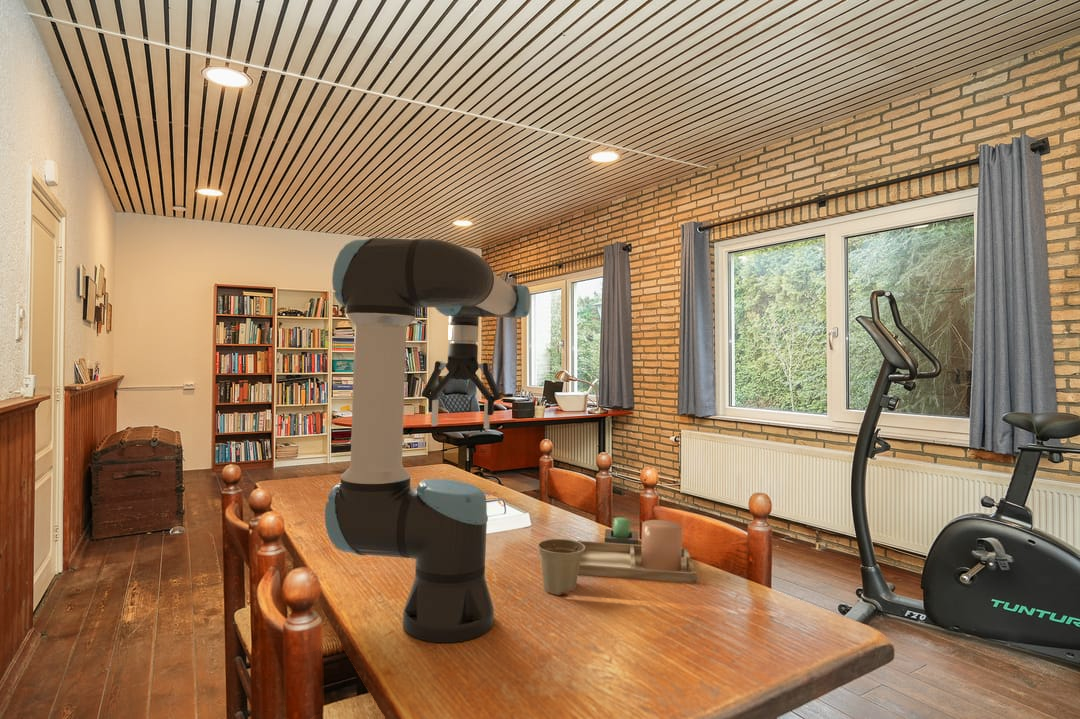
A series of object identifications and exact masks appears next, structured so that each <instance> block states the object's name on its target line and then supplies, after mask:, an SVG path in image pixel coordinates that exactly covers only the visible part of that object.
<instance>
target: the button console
mask: <svg viewBox="0 0 1080 719" xmlns="http://www.w3.org/2000/svg"><path fill="white" fill-rule="evenodd" d="M639 540H640V539H639V533H638V531H637V530H630V538H623V537H613V528H612V529H610V528H605V530H604V542H606V543H620V544H635V545H639V542H640V541H639Z"/></svg>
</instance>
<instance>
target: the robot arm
mask: <svg viewBox="0 0 1080 719" xmlns="http://www.w3.org/2000/svg"><path fill="white" fill-rule="evenodd" d="M331 280H332V282H331V283H332V290H333V291H334V298H335V299H336V301H337V303H338V304H340V305H342V306H343V307H345V316H346V317H347V318H348V320H349V321H350V322H351V323H352V324H353V326H354V342H353V343H354V344H353V346H354V347H353V348H354V349H353V371H352V372H353V375H352V376H353V377H352V403H351V404H352V407H351V408H352V409H351V410H352V411H351V434H350V435H351V437H350V440H351V442H350V443H351V444H350V465H349V467H348V468H347V469H346V470H345V471H344V472H343V473H342V474H340V482H339V483H336V485H334V486H333V487H332V489H331V490H330V491H329V494H328V497H327V499H328V501H327V502H326V503H325V509H324V523H325V530H326V533H327V536H328V538H329V541H330V542H331V543H332V545H333V546H334V547H335V548H336V549H337V550H339V551H340V552H344V553H351V554H355V555H358V556H376V557H377V556H379V557H389V558H390V557H391V558H405V559H414V560H415V571H414V572H415V574H414V575H415V576H414V579H413V583H412V585H411V588H410V591H409V594H408V597H407V600H406V603H405V605H404V608H403V612H402V628H403V630H404V632H406V633H407V634H408V635H410V636H412V637H413V638H415V639H418V640H422V641H426V642H432V643H456V642H458V643H459V642H463V641H464V642H465V641H468V640H472V639H475V638H478V637H480V636H482V635H485V634H486V633H487V632H489V631H490V630H491V629H492V628H493V626H494V619H495V618H494V616H495V609H494V604H493V600H492V597H491V594H490V590H489V586H488V583H487V579H486V575H485V574H486V554H487V553H486V549H487V527H488V526H487V524H488V518H489V516H488V514H487V511H488V508H487V507H488V506H487V496H486V494H485V492H484V490H482V489H481V488H479V487H478V486H476V485H473V484H470V483H468V482H464V481H460V480H454V479H449V478H447V479H446V478H441V479H440V478H429V479H427V478H426V479H423V480H421V481H420V482H419V483H418V485H417V487H413V486H411V473H410V471H408V469H406V468H405V467H404V465H403V447H404V446H403V441H404V438H403V437H404V415H405V414H404V413H405V412H404V411H405V409H404V407H405V380H406V379H405V378H406V377H405V376H406V375H405V374H406V373H405V372H406V349H407V348H406V347H407V342H406V341H407V328H408V327H409V326H410V324H412V323H413V322H414V321H415V320H416V314H417V313H416V309H417V308H434V309H435V310H436V311H437V312H438V313H440V314H442V315H443V316H445V317H448V333H447V334H448V339H447V340H448V342H450V343H448V345H447V361H446V362H443V361H440V360H436V361H435V363H434V369H433V372H431V375H430V377H429V379H428V380H427V383H426V385H425V386H424V388H423V390H422V392H421V397H422V398H426V399H427V400H428V412H429V413H431V427H436V426H439V423H438V422H439V403H440V402H439V401H440V400H439V399H437V398H438V396H439V395H440V394H441V393H442V391H444V389H445V388H447V386H448V385H449V383H451V381H452V380H458V381H459V380H464V381H468V380H470V381H471V382H473V383H474V384H473V385H475V386H476V388H477V389H478V390H479V392H480V393H481V394H482V396H483V398H484V399H485V400H486V402H484V405H483V406H484V408H483V410H484V411H483V413H484V414H483V429H484V430H486V429H489V428H490V416H493V415H494V413H495V412H494V411H495V408H494V406H495V402H496V401H498V400H501V399H502V395H501V393H500V390H499V388H498V386H497V384H496V381H495V379H494V377H493V374H492V372H491V365H490V362H484V363H479V361H478V358H479V357H478V356H479V355H478V354H479V350H478V349H479V346H478V344H476V343H478V342H479V319H480V318H488V317H489V318H511V319H512V318H513V319H517V318H526V317H528V315H529V313H530V311H531V310H530V309H531V294H530V293H531V292H530V289H529V287H528V286H527V285H522V284H521V285H520V284H509V283H508V282H506V281H505V280H504V279H502V278H501V277H500V276H498V275H497V274H496V273H494V270H493V269H492V266H491V265H490V264H489V263H488V262H487V260H485V258H483V257H482V256H481V255H479V254H477V253H476V252H473V251H472V250H470V249H468V248H465V247H463V246H460V245H458V244H456V243H452V242H449V241H446V240H442V239H438V238H437V239H436V238H402V237H401V238H393V237H388V238H386V237H371V238H370V237H369V238H365V239H364V238H363V239H354V240H350V241H349V242H347V243H346V244H344V246H343V247H342V248H341V249H340V250H339V253H338V254H337V257H336V259H335V261H334V264H333V269H332V278H331ZM445 368H446V369H447V371H448V372H447V374H446V375H444V378H443V379H442V380H441V381H440V382H439V383H438V385H436V383H437V381H438V379H439V377H440V374H441V373H442V371H444V370H445ZM479 369H480V371H481V372H482V373H483V375H484V377H485V380H486V382H487V384H488V386H489V388H490V389H488V388H487V387H486V385H485V384H484V383H483V382H482V380H481V379H480V377H479V376H478V375H477V374H476V373H477V371H478V370H479ZM435 385H436V387H435ZM434 387H435V388H434ZM433 388H434V389H433ZM489 390H490V391H491V392H492V393H491V392H490V391H489Z"/></svg>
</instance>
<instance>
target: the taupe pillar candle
mask: <svg viewBox="0 0 1080 719" xmlns="http://www.w3.org/2000/svg"><path fill="white" fill-rule="evenodd" d="M682 542H683V526H682V524H680V523H677V522H675V521H670V520H663V519H649V520H644V521H643V522H642V523H641V544H640V545H641V566H642V567H643V568H644V569H651V570H665V571H680V570H681V551H682V548H683V546H682Z"/></svg>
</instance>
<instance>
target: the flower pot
mask: <svg viewBox="0 0 1080 719" xmlns="http://www.w3.org/2000/svg"><path fill="white" fill-rule="evenodd" d="M536 545H537V548H538V550H539V555H540V558H541V570H542V580H543V583H542V584H543V589H544V590H545V591H546V593H549V594H552V595H557V596H559V595H560V596H561V595H562V592H570V591H574V590H575V589H576V587H577V582H578V576H579V574H578V571H579V565H580V560H581V557H582V555H583V551H585V546H584V545H583V544H582V543H580V542H578V540H574V539H565V538H551V539H550V538H549V539H545V540H541V541H539V542H538V543H537V544H536Z"/></svg>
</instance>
